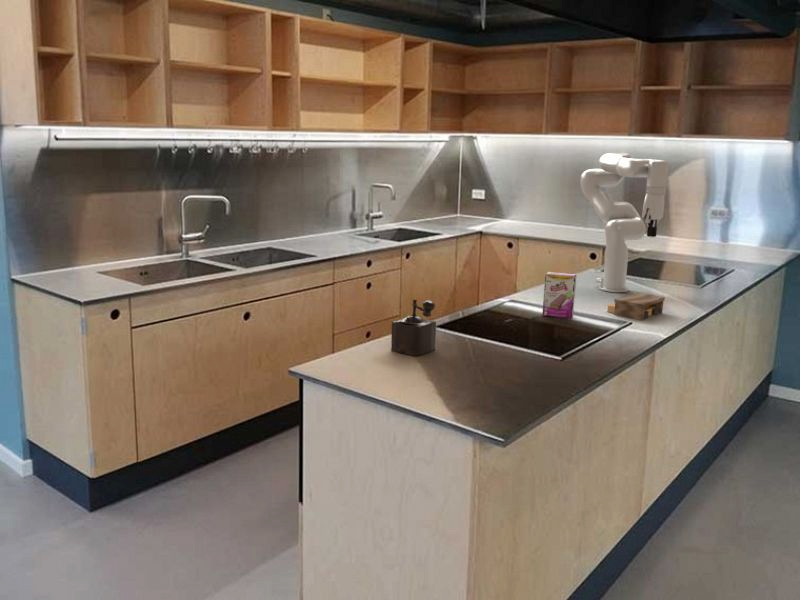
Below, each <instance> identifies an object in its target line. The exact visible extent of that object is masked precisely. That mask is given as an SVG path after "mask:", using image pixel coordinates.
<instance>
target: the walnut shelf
mask: <svg viewBox="0 0 800 600" xmlns="http://www.w3.org/2000/svg"><path fill="white" fill-rule="evenodd" d="M665 299H666V297H664V296H659V295H653V294H649V293H648V294H647V293H641V292H635V293H634V292H633V293H630V294H628V295H627V294H626V295H624V296H621V297H618V298H614V300H613V303H615V311H614V313H613V314H614V315H615V316H619V317H623V318H630V319H634V320H637V321H638V320H639V321H644V320H645V319H648V318H649V316H648V314H649V311H645V307H646V306H654V307H656V308H653V309H652V315H651V316H656V315H658V314H660V315H661V314H663V308H664V301H665Z"/></svg>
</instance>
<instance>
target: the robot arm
mask: <svg viewBox="0 0 800 600" xmlns="http://www.w3.org/2000/svg"><path fill="white" fill-rule="evenodd" d="M598 164H599V167H600V168H590V169H586V170H585V171H583V172H582V173H581V176H580V187H581V191H582V193H583V195H584V196H585V198H586V199H587V200H588V201H589V202H590V203H591V205H592V207H593V208H594V210H595V212H596V214H597V215H598V217H599V219H600V221H602V222H603V223H604V224H606V225H605V227H604V234H605V258H604V268H603V269H604V271H603V278H600V277H597V278H596V279H595V283H597V284H600V285H598V286H599V288H598V289H599V290H600V291H603V292H607V293H627V292H629V290H630V289H629V287H628V286H626V281H627V271H628V259H629V248H628V246H627V244H626V242H625V241H637V240H641V239H643V237H645V235H646V236H647V237H650V238H655V237H657V230H658V226H659V222H660V221H661V219H662V218H664V213H665V196H666V194H667V193H666V191H667V182H668V175H669V174H668V173H669V162H668V161H667V160H663V159H655V158H633V157H632V155H630V154H629V153H627V152H607V153H606V152H605V153H604V154H603V155H601V157H600V158H599V160H598ZM625 177H627V178H647V179H646V187H645V197H644V201H643V206H642V213H641V216H640V214H639V212H638V211H637V209H636V208H635V206H634V205H632V204H631V202H627V201H615V200H613V199H612V198H611V196H610V194H609V193H608V192H607V191H606V190H604V189H603V188H614V187H616V186H617V185H619V184H620V183H621V181H622V180H623V179H624V178H625ZM644 220H645V222H644ZM645 224H647V230H646V225H645ZM646 231H647V233H646Z"/></svg>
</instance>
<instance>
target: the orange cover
mask: <svg viewBox="0 0 800 600" xmlns="http://www.w3.org/2000/svg"><path fill="white" fill-rule="evenodd" d="M653 308H656V307H654V306H646V307H645V311H649V314H648V317H650V316H653V315H652V309H653ZM614 311H615V302H613V303H611V304H608V305H607V312H608V313H612V314H614Z"/></svg>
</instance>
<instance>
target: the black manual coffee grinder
mask: <svg viewBox="0 0 800 600" xmlns="http://www.w3.org/2000/svg"><path fill="white" fill-rule="evenodd" d="M417 302H418V300H417V299H416V298H414V299H412V303H411V306H412V314H411V315H407V316H405V317H403V318H400V319H398V320H393V321H391V349H390V351H393V352H396V353H398V354H402V355H403V354H404V355H408V356H414V357H419V356H423V355H426V354H428V353H431V352H433V351H436V334H437V322H436V321H435V320H431V319H425V318H428V317H432V312H433V311H434V309H436V305H435V302H433V301H432V300H428V299H427V300H425V301H423V303H422V306H419V305H418V303H417ZM417 310H419V311H421V312H422V315H423V316H424V317H425V318H423V317H422V316H419V315H417Z"/></svg>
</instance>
